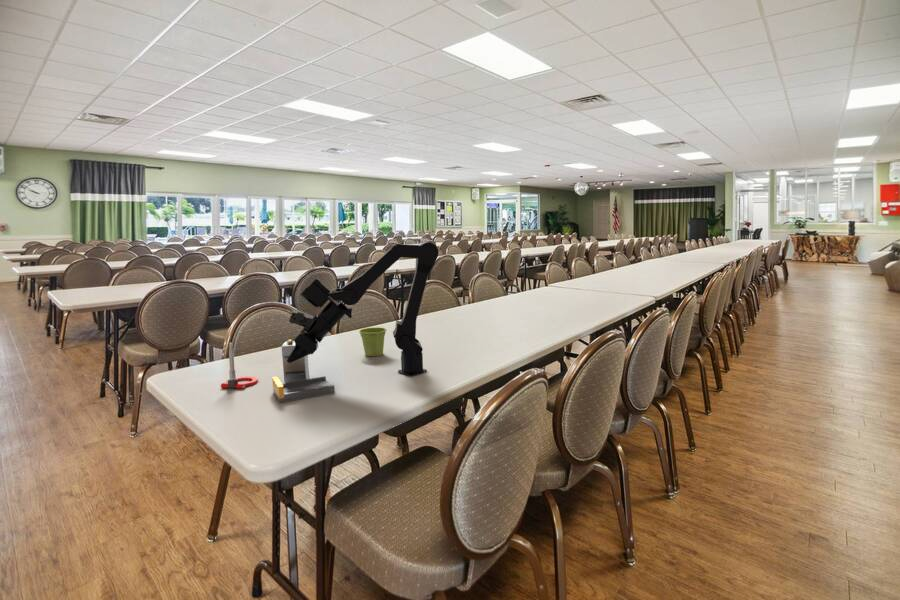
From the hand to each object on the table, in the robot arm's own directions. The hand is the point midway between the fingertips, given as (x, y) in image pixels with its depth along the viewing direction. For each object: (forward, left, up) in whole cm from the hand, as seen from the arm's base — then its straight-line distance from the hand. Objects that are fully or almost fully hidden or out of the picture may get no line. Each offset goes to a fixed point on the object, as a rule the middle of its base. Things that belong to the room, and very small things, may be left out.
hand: (290, 358), depth 134 cm
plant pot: (+6, -33, -7) cm, 34 cm away
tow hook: (+8, +11, -7) cm, 16 cm away
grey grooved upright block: (-1, -1, -7) cm, 7 cm away
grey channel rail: (-12, +2, -7) cm, 14 cm away
